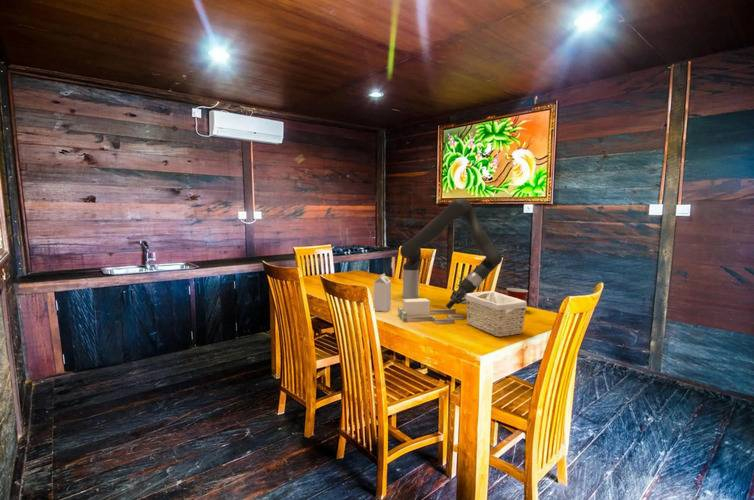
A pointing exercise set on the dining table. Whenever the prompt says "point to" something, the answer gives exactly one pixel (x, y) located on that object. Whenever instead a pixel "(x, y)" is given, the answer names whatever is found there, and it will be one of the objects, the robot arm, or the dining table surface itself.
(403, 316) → the trap lane
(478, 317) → the storage basket
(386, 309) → the milk carton
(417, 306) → the cream box
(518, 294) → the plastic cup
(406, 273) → the robot arm
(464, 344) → the dining table surface
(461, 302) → the house plant
